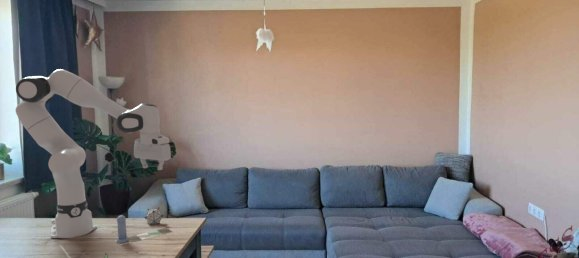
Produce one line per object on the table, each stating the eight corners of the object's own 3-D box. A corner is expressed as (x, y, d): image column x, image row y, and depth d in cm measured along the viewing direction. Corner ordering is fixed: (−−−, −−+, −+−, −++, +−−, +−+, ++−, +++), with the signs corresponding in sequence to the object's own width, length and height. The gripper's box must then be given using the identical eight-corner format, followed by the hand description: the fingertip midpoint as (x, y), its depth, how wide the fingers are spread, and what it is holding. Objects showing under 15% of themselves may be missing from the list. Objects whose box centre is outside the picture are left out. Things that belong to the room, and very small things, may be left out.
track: (114, 243, 173) (114, 240, 173) (166, 230, 188) (166, 227, 187) (120, 248, 168) (120, 245, 168) (172, 234, 182) (172, 231, 182)
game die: (156, 233, 194) (156, 221, 187) (141, 226, 195) (139, 214, 188) (167, 219, 200) (167, 206, 194) (152, 212, 202) (151, 200, 195)
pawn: (115, 241, 172) (113, 215, 171) (126, 238, 175) (124, 212, 174) (119, 244, 169) (117, 217, 168) (130, 241, 172) (128, 215, 170)
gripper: (129, 138, 191) (131, 168, 192) (161, 141, 181) (163, 172, 182) (140, 137, 196) (142, 165, 198) (172, 139, 186) (173, 169, 188)
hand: (152, 168), depth 190 cm, fingers open, 8 cm apart
